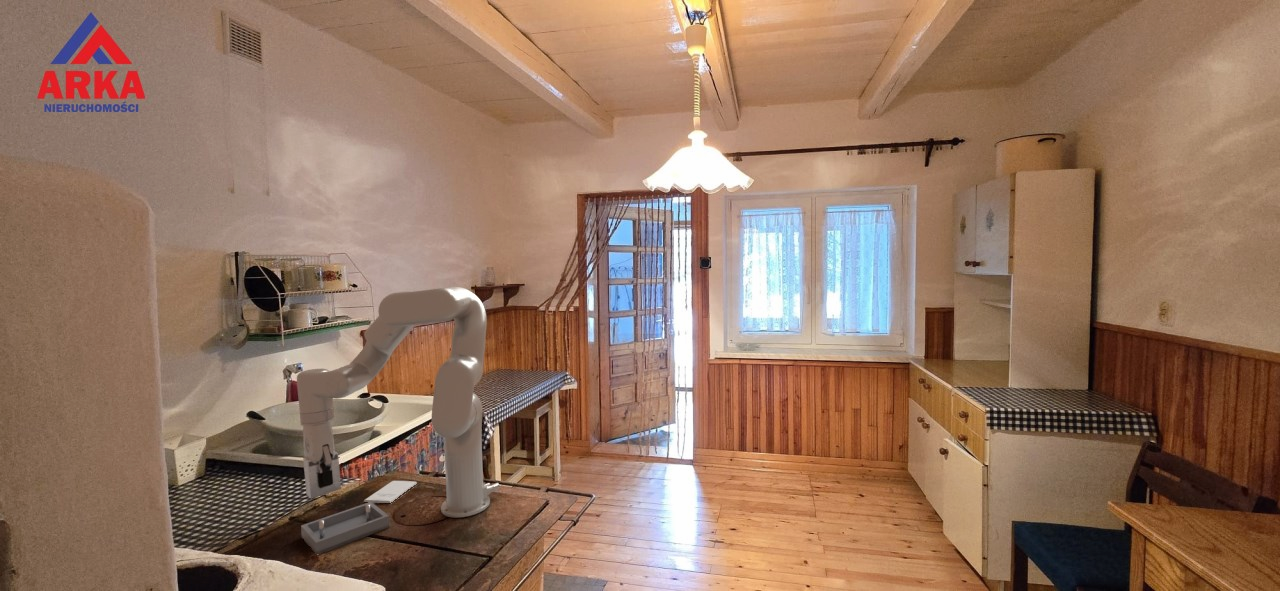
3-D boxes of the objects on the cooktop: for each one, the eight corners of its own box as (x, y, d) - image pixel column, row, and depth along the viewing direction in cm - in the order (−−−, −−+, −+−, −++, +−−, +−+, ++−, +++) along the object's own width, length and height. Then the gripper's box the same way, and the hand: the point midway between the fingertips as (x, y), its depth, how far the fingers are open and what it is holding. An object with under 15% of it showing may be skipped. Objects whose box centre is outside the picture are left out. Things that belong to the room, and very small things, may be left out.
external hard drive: (417, 486, 151) (390, 506, 139) (392, 485, 152) (363, 504, 140) (416, 481, 151) (390, 500, 139) (392, 480, 152) (363, 499, 140)
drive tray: (371, 512, 134) (370, 494, 134) (389, 527, 126) (388, 508, 126) (301, 537, 122) (300, 517, 122) (316, 555, 114) (315, 534, 114)
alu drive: (336, 485, 137) (333, 449, 136) (341, 488, 134) (338, 452, 134) (306, 494, 132) (303, 457, 131) (311, 498, 129) (307, 461, 128)
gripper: (291, 414, 135) (297, 480, 136) (310, 425, 123) (316, 497, 124) (323, 407, 140) (329, 471, 141) (343, 417, 129) (349, 486, 130)
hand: (323, 483), depth 133 cm, fingers closed on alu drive, 4 cm apart
